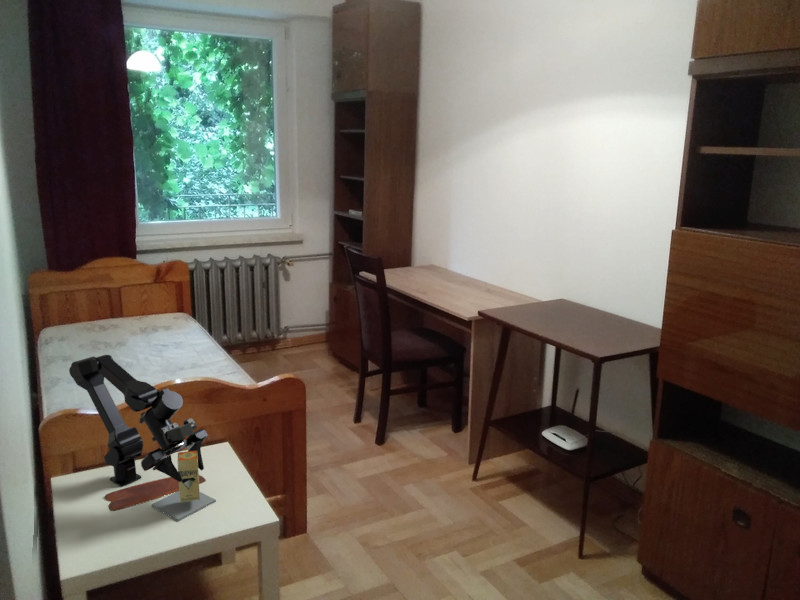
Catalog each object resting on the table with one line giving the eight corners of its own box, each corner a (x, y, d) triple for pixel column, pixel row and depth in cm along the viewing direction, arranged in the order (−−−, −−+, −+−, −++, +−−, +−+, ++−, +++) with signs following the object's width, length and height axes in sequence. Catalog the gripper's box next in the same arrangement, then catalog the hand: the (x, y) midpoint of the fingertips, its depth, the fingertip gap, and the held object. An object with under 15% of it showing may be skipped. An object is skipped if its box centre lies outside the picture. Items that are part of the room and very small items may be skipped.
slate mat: (151, 506, 171) (151, 504, 171) (188, 488, 180) (188, 486, 180) (178, 521, 164) (178, 519, 164) (215, 501, 174) (215, 499, 173)
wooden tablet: (112, 515, 168) (111, 509, 167) (103, 498, 176) (102, 493, 175) (209, 484, 184) (208, 479, 183) (197, 471, 191) (196, 466, 191)
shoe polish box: (180, 492, 172) (178, 452, 169) (199, 490, 174) (197, 450, 171) (180, 502, 168) (177, 461, 165) (199, 499, 169) (197, 458, 166)
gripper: (145, 425, 159) (177, 476, 157) (202, 401, 175) (232, 447, 172) (127, 445, 165) (158, 495, 162) (184, 421, 181) (213, 466, 178)
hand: (192, 475), depth 168 cm, fingers closed on shoe polish box, 7 cm apart
